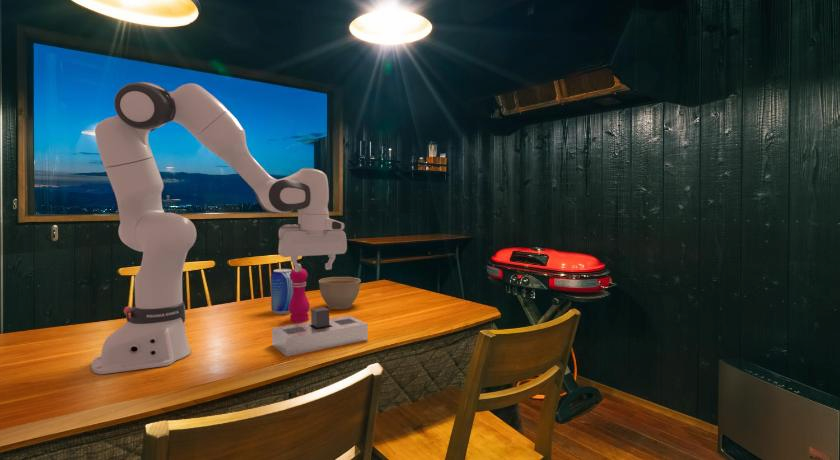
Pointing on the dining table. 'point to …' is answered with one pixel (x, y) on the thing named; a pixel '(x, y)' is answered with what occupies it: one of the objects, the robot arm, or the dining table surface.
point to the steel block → (319, 318)
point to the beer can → (281, 291)
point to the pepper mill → (299, 297)
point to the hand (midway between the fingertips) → (313, 270)
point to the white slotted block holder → (318, 335)
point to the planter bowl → (339, 291)
